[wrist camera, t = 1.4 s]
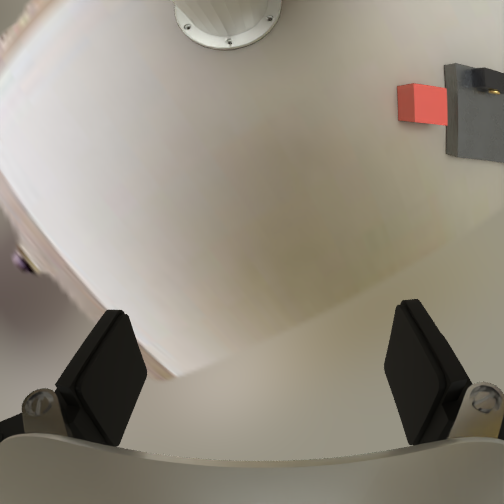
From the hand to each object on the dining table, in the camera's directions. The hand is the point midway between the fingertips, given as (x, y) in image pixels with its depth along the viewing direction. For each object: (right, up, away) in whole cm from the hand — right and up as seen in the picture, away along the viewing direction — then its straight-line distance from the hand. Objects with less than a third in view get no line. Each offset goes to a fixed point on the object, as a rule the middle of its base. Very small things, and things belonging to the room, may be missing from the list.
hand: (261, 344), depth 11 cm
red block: (+20, +21, +23) cm, 37 cm away
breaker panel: (+35, +22, +21) cm, 46 cm away
